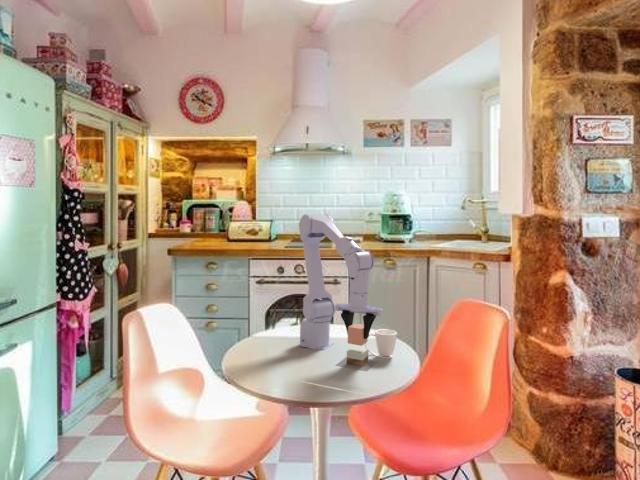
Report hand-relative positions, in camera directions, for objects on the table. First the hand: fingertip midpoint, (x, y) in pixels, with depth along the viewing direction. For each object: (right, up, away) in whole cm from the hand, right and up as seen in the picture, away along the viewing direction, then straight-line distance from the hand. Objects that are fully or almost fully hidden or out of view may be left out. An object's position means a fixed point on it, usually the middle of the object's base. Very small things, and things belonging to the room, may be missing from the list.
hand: (358, 336), depth 142 cm
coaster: (0, -8, +1) cm, 8 cm away
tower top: (0, -6, +1) cm, 6 cm away
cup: (+8, -8, +8) cm, 14 cm away
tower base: (0, -8, +1) cm, 8 cm away
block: (0, -2, 0) cm, 2 cm away
